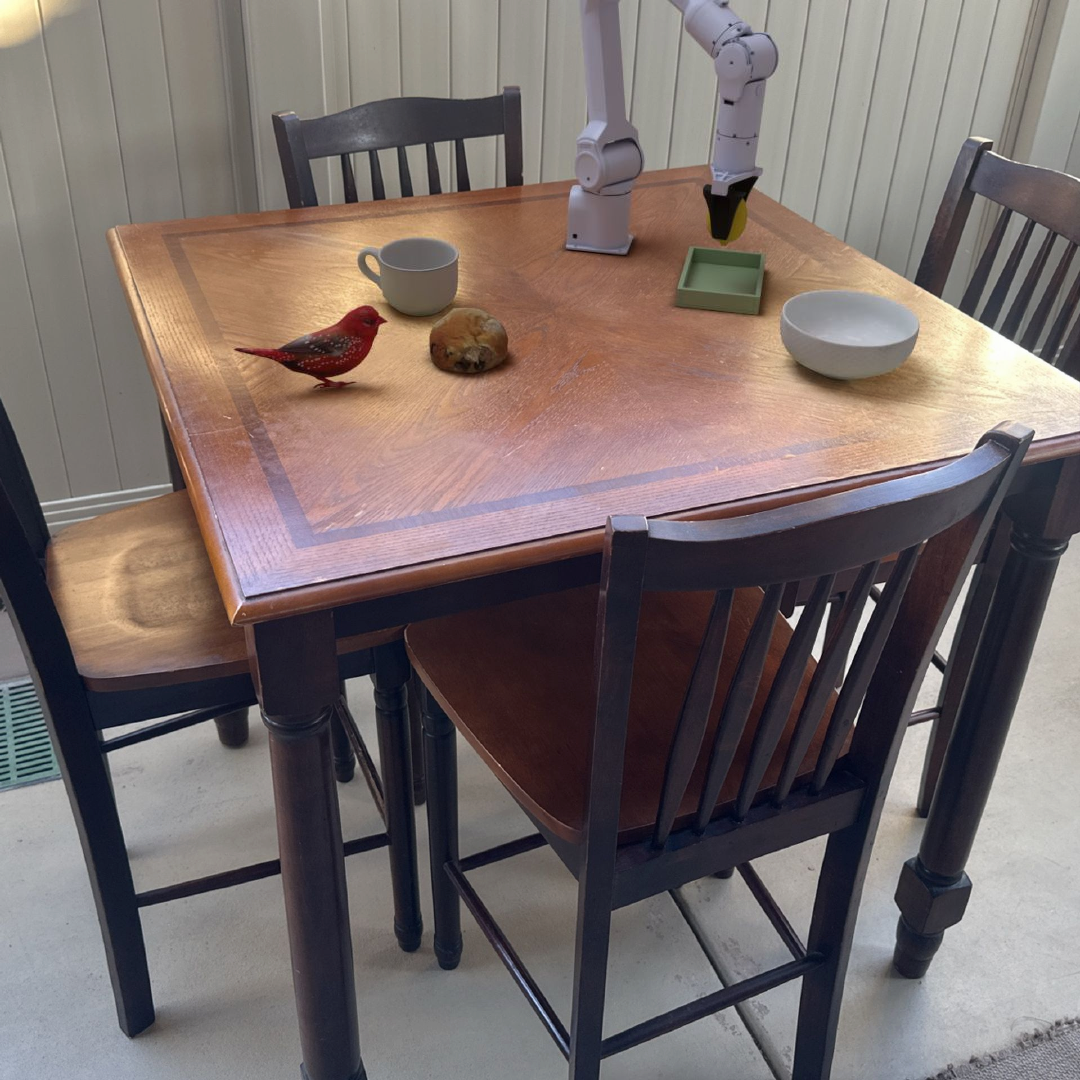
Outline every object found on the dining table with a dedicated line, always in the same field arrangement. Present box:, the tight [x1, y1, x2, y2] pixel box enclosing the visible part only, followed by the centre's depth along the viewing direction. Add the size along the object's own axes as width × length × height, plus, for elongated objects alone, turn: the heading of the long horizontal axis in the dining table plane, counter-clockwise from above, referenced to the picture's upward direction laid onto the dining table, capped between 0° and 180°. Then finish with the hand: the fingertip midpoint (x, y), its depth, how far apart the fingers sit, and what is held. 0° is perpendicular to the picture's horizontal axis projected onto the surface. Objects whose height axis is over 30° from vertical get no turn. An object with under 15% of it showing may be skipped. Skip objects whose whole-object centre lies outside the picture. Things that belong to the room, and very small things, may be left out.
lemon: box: [706, 199, 748, 247], centre depth 157 cm, size 6×6×8 cm
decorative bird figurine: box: [233, 304, 388, 389], centre depth 131 cm, size 3×18×10 cm, turn 107°
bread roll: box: [428, 307, 509, 374], centre depth 141 cm, size 10×10×8 cm
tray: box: [675, 245, 767, 316], centre depth 163 cm, size 11×17×3 cm, turn 168°
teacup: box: [356, 236, 460, 317], centre depth 153 cm, size 14×11×8 cm
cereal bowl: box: [779, 289, 920, 381], centre depth 141 cm, size 17×17×7 cm
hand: (725, 232), depth 158 cm, fingers closed on lemon, 5 cm apart
